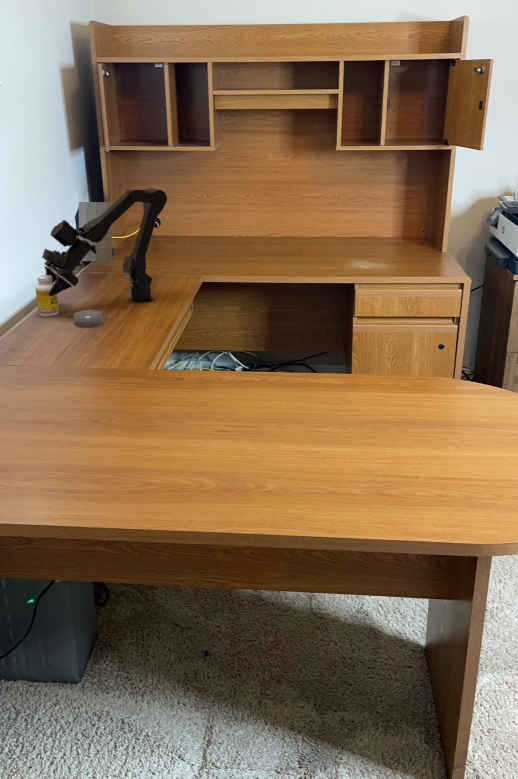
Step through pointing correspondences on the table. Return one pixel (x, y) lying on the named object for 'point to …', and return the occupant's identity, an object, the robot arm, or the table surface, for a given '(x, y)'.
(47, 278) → the supplement bottle
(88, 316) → the puck
